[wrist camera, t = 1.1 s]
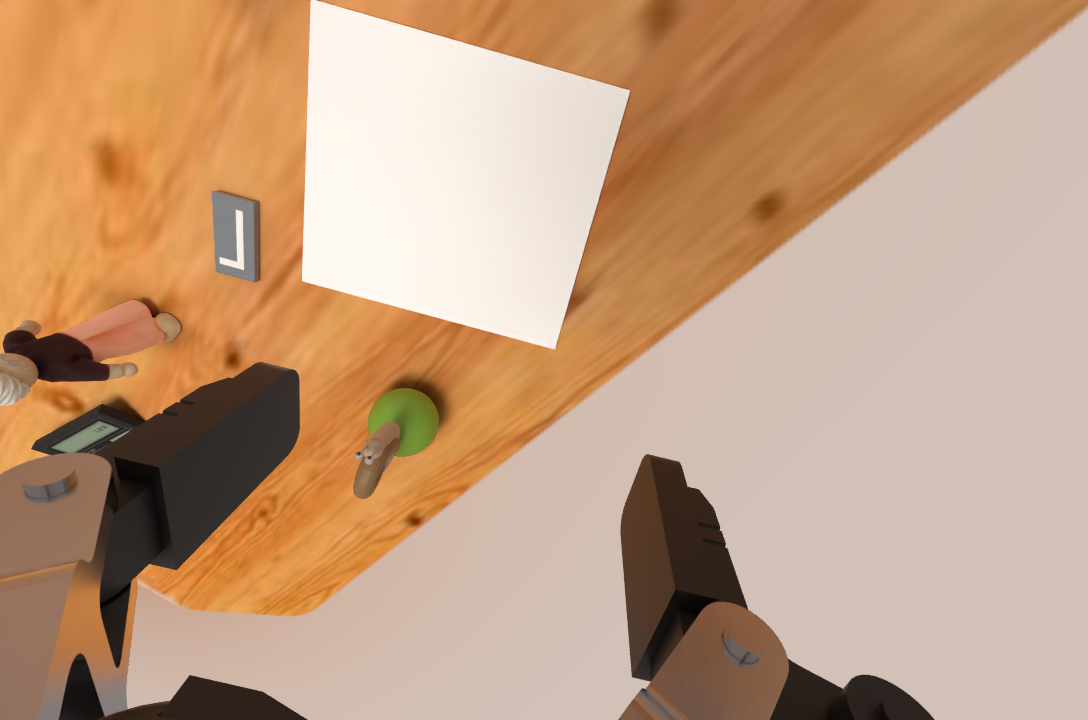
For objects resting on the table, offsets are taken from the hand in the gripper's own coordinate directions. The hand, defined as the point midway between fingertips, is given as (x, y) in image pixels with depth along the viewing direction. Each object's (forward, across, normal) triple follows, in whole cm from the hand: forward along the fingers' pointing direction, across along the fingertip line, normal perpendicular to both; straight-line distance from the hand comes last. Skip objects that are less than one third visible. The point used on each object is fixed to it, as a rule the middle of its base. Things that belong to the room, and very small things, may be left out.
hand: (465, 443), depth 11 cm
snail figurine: (+25, +8, +16) cm, 31 cm away
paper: (+25, +8, -1) cm, 26 cm away
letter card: (+25, +23, +5) cm, 34 cm away
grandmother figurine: (+25, +31, +14) cm, 42 cm away
